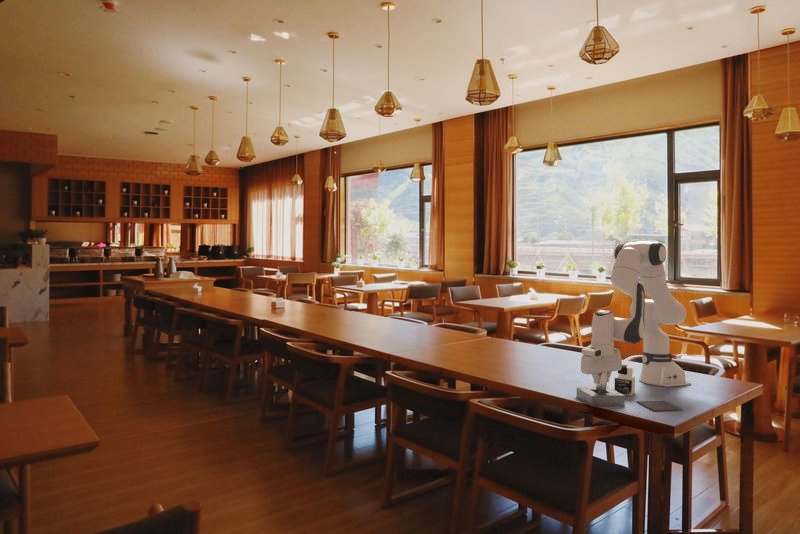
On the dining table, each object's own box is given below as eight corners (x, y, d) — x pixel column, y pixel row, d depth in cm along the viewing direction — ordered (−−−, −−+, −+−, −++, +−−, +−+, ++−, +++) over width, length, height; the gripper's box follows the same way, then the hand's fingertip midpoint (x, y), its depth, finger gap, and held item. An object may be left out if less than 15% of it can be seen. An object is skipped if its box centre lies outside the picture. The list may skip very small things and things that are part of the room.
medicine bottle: (614, 393, 242) (614, 366, 242) (617, 389, 248) (618, 363, 248) (631, 396, 238) (632, 368, 238) (634, 392, 244) (635, 365, 244)
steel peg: (600, 393, 232) (601, 369, 232) (608, 395, 229) (609, 371, 229) (593, 394, 231) (594, 370, 230) (601, 396, 227) (601, 372, 227)
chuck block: (607, 395, 238) (607, 386, 238) (624, 405, 224) (624, 395, 224) (576, 396, 236) (576, 387, 236) (591, 406, 223) (592, 396, 222)
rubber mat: (664, 401, 230) (664, 400, 230) (682, 410, 218) (682, 409, 218) (636, 402, 228) (636, 401, 228) (653, 411, 216) (653, 409, 216)
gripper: (614, 346, 237) (613, 378, 237) (578, 350, 227) (577, 383, 228) (626, 349, 231) (625, 382, 232) (590, 353, 222) (589, 387, 222)
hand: (601, 382), depth 230 cm, fingers closed on steel peg, 4 cm apart
